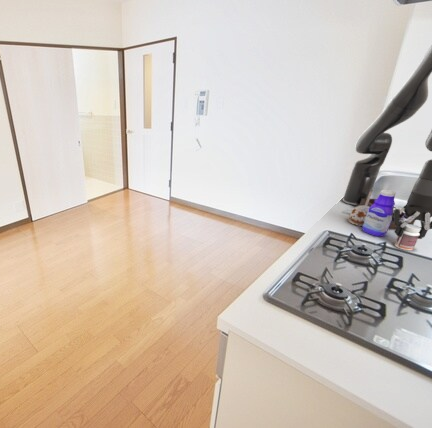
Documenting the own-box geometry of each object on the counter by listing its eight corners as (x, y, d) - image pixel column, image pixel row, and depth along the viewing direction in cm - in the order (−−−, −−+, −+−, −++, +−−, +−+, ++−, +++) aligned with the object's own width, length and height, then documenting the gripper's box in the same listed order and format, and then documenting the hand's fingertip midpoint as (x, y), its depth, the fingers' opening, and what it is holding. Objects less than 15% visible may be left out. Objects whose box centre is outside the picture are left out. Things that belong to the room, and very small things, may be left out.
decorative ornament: (343, 220, 121) (354, 187, 114) (359, 218, 121) (371, 186, 115) (359, 228, 114) (371, 194, 107) (376, 226, 114) (390, 192, 108)
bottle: (358, 230, 112) (372, 190, 105) (366, 227, 114) (381, 187, 107) (379, 238, 106) (397, 196, 99) (388, 235, 108) (405, 193, 101)
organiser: (358, 207, 131) (361, 198, 129) (377, 208, 129) (381, 198, 127) (388, 229, 112) (392, 218, 110) (410, 230, 110) (415, 219, 108)
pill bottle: (416, 250, 98) (426, 229, 94) (402, 250, 98) (412, 230, 95) (404, 243, 102) (413, 223, 99) (390, 243, 102) (399, 223, 99)
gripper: (451, 189, 92) (429, 234, 99) (395, 186, 97) (378, 229, 104) (466, 197, 85) (441, 245, 93) (405, 193, 91) (386, 238, 98)
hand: (408, 236), depth 98 cm, fingers closed on pill bottle, 4 cm apart
